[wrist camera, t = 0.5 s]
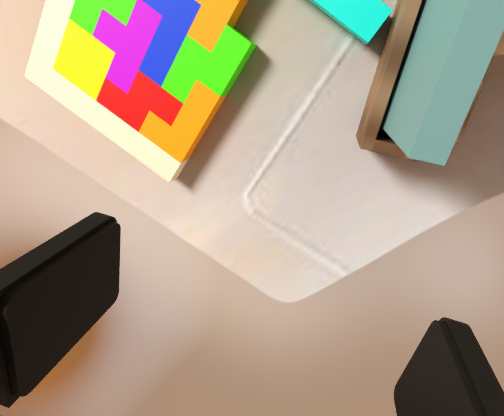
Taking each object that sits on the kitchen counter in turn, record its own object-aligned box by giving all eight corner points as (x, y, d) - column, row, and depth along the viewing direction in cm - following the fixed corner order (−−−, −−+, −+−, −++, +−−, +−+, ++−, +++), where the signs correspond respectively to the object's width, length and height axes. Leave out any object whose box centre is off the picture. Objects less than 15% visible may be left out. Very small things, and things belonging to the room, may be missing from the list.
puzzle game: (44, 76, 42) (236, 217, 43) (24, 76, 39) (229, 226, 40) (140, -231, 29) (411, -17, 30) (120, -262, 26) (419, -26, 27)
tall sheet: (422, -19, 28) (512, -113, 14) (446, -15, 28) (563, -108, 14) (376, 121, 33) (408, 157, 19) (396, 125, 33) (444, 166, 19)
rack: (411, -46, 29) (431, -76, 23) (522, -30, 27) (573, -58, 22) (356, 135, 35) (360, 148, 29) (443, 155, 34) (466, 172, 28)
